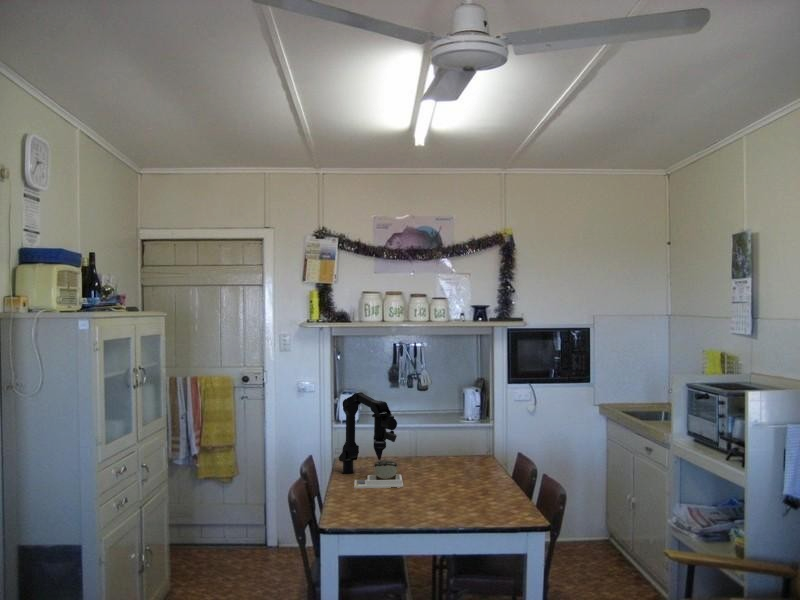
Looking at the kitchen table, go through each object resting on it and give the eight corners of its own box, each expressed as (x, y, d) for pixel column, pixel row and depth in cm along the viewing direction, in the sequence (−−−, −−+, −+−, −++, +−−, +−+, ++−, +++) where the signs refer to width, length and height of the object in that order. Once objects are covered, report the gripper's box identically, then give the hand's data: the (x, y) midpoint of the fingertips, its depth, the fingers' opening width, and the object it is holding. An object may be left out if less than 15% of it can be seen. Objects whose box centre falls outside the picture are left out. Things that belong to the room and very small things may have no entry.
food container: (397, 479, 326) (397, 460, 326) (398, 483, 319) (398, 462, 320) (373, 480, 325) (373, 460, 325) (373, 483, 319) (373, 463, 319)
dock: (354, 481, 326) (354, 475, 326) (402, 481, 327) (402, 474, 327) (354, 488, 314) (354, 481, 314) (403, 487, 315) (403, 480, 315)
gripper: (396, 430, 316) (396, 462, 316) (395, 423, 335) (394, 453, 335) (373, 430, 316) (373, 462, 316) (373, 423, 334) (373, 453, 335)
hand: (379, 457), depth 325 cm, fingers open, 9 cm apart
